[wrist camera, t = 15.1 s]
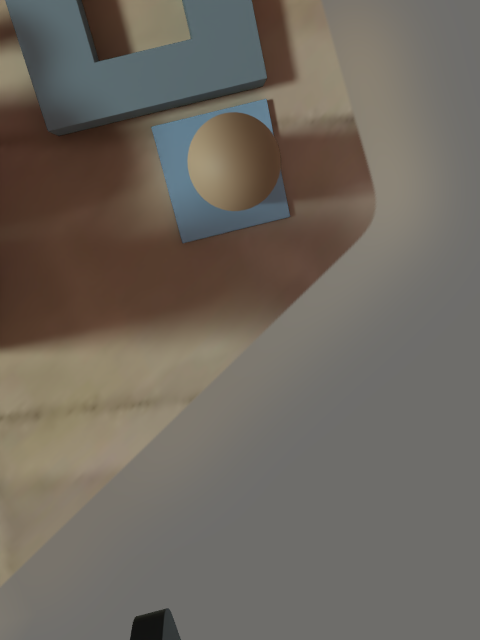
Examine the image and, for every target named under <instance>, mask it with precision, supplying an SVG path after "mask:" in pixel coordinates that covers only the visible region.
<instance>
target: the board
mask: <svg viewBox="0 0 480 640" xmlns="http://www.w3.org/2000/svg"><path fill="white" fill-rule="evenodd" d="M5 1H6V4H7V7H8V10H9V14H10V17H11V20H12V23H13V26H14V29H15V32H16V35H17V38H18V41H19V44H20V47H21V50H22V53H23V56H24V59H25V62H26V65H27V69H28V72H29V75H30V78H31V81H32V84H33V87H34V90H35V93H36V96H37V99H38V102H39V105H40V108H41V111H42V114H43V117H44V120H45V124H46V127H47V130H48V131H49V132H51V133H53V134H56V135H58V136H60V135H64V134H68V133H73V132H77V131H81V130H85V129H89V128H93V127H97V126H101V125H105V124H110V123H114V122H118V121H122V120H126V119H130V118H134V117H138V116H142V115H147V114H151V113H155V112H159V111H163V110H167V109H171V108H175V107H180V106H184V105H188V104H192V103H196V102H200V101H204V100H208V99H212V98H217V97H221V96H225V95H229V94H233V93H237V92H241V91H245V90H250V89H254V88H258V87H262V86H263V85H264V83H265V81H266V79H267V75H266V70H265V65H264V60H263V55H262V50H261V45H260V40H259V35H258V30H257V25H256V20H255V15H254V10H253V5H252V0H182V2H183V6H184V10H185V15H186V19H187V23H188V27H189V32H190V36H191V39H190V40H186V41H182V42H178V43H173V44H169V45H165V46H161V47H157V48H153V49H149V50H144V51H140V52H136V53H132V54H128V55H124V56H120V57H115V58H111V59H107V60H103V61H99V60H98V56H97V53H96V49H95V46H94V42H93V39H92V35H91V32H90V28H89V25H88V21H87V18H86V14H85V11H84V8H83V4H82V1H81V0H5Z"/></svg>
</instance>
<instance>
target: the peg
mask: <svg viewBox="0 0 480 640" xmlns="http://www.w3.org/2000/svg"><path fill="white" fill-rule="evenodd" d="M187 162H188V171H189V176H190V179H191V181H192V183H193V186H194V187H195V189H196V191H197V192H198V193H199V194H200V196H201V197H202V198H203V199H204V200H206V201H207V202H208V203H210V204H211V205H213V206H215V207H217V208H220V209H223V210H227V211H242V210H246V209H249V208H252V207H254V206H256V205H258V204H259V203H261V202H262V201H263V200H265V199H266V198H267V197H268V196H269V194H270V193H271V192H272V190H273V189H274V187H275V185H276V183H277V181H278V178H279V174H280V169H281V156H280V150H279V146H278V144H277V141H276V139H275V137H274V135H273V134H272V132H271V131H270V130H269V128H268V127H267V126H266V125H265V124H264V123H262V122H261V121H260V120H258V119H256V118H255V117H253V116H250V115H248V114H244V113H238V112H229V113H223V114H220V115H217V116H215V117H213V118H211V119H210V120H208V121H207V122H205V123H204V124H203V125H202V126H201V127H200V128H199V130H198V131H197V132H196V134H195V135H194V137H193V139H192V141H191V144H190V147H189V151H188V160H187Z"/></svg>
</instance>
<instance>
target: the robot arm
mask: <svg viewBox="0 0 480 640" xmlns="http://www.w3.org/2000/svg"><path fill="white" fill-rule="evenodd" d="M130 640H181V639H180V636H179V633H178V630H177V628H176V625H175V622H174V619H173V616H172V614H171V611H170V610H169V609H168V608H167V609H163V610H159V611H155V612H152V613H148V614H144V615H140V616H136V617H135V619H134V622H133V625H132V631H131V637H130Z"/></svg>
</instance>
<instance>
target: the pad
mask: <svg viewBox="0 0 480 640" xmlns="http://www.w3.org/2000/svg"><path fill="white" fill-rule="evenodd" d="M229 112H238V113H244V114H248V115H250V116H253V117H255V118H256V119H258V120H260V121H261V122H262V123H264V124H265V125H266V126H267V127H268V128H269V130H270V131H271V132H272V134H273V129H272V124H271V119H270V114H269V109H268V104H267V100H266V99H264V100H260V101H255V102H251V103H247V104H243V105H239V106H235V107H231V108H227V109H223V110H218V111H214V112H210V113H206V114H202V115H198V116H194V117H190V118H186V119H182V120H177V121H173V122H169V123H165V124H161V125H157V126H153V127H151V128H152V131H153V135H154V139H155V143H156V146H157V150H158V154H159V157H160V161H161V165H162V169H163V172H164V176H165V180H166V183H167V187H168V191H169V195H170V198H171V202H172V206H173V210H174V213H175V217H176V221H177V224H178V228H179V232H180V236H181V239H182V243H186V242H190V241H194V240H198V239H202V238H206V237H210V236H214V235H218V234H222V233H226V232H230V231H234V230H238V229H242V228H246V227H251V226H255V225H259V224H263V223H267V222H271V221H275V220H279V219H283V218H287V217H290V214H289V209H288V204H287V199H286V194H285V189H284V184H283V179H282V174H281V169H280V174H279V178H278V181H277V183H276V185H275V187H274V189H273V190H272V192H271V193H270V194H269V196H268V197H267V198H266V199H265V200H263V201H262V202H261V203H259V204H258V205H256V206H254V207H252V208H249V209H246V210H242V211H227V210H223V209H220V208H217V207H215V206H213V205H211V204H210V203H208V202H207V201H206V200H204V199H203V198H202V197H201V196H200V194H199V193H198V192H197V191H196V189H195V187H194V186H193V183H192V181H191V179H190V176H189V171H188V162H187V160H188V151H189V147H190V144H191V141H192V139H193V137H194V135H195V134H196V132H197V131H198V130H199V128H200V127H201V126H202V125H203V124H204V123H205V122H207V121H208V120H210V119H211V118H213V117H215V116H217V115H220V114H223V113H229ZM273 135H274V134H273Z"/></svg>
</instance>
